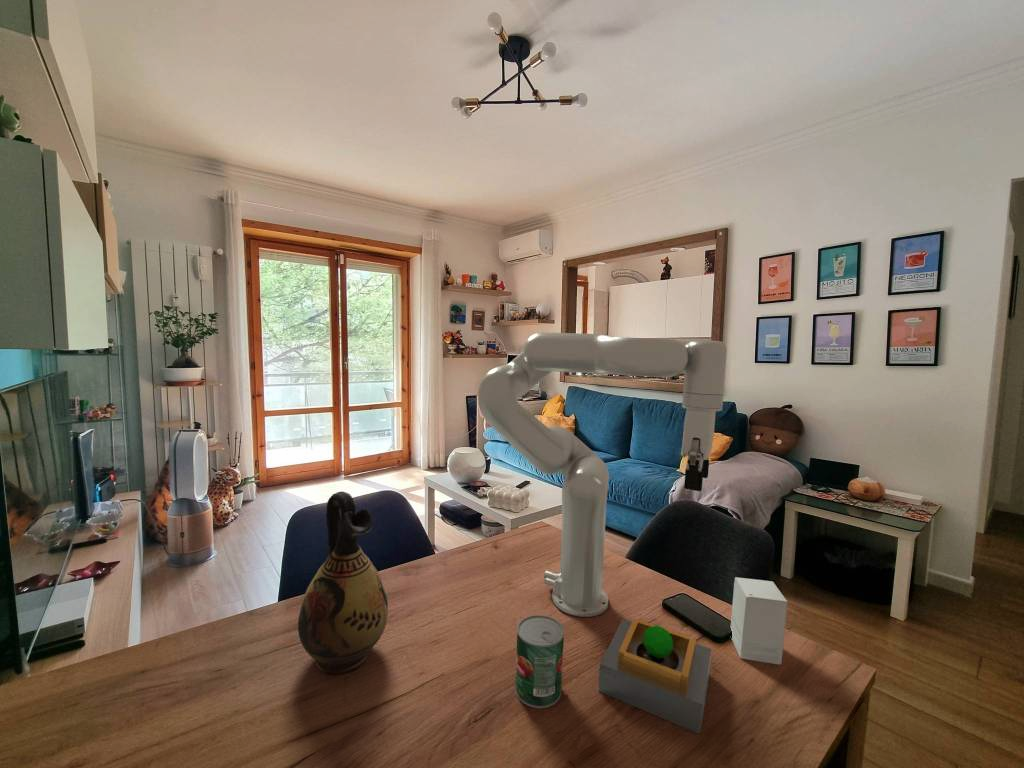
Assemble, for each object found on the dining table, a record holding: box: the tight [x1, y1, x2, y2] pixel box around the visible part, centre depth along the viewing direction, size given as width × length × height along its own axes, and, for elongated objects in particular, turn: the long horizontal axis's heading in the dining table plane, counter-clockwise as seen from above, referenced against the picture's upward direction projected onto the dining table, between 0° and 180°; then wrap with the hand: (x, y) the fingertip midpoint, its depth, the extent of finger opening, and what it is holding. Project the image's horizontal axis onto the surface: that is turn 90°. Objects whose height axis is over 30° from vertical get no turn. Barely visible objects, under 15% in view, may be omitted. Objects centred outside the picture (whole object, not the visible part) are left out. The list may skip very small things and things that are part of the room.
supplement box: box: [730, 576, 788, 665], centre depth 86 cm, size 7×7×13 cm
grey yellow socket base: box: [598, 618, 712, 735], centre depth 78 cm, size 16×17×7 cm
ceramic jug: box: [297, 491, 389, 676], centre depth 81 cm, size 17×15×30 cm
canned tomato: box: [514, 614, 565, 709], centre depth 75 cm, size 8×8×11 cm
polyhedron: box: [643, 624, 673, 659], centre depth 77 cm, size 5×5×5 cm
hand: (696, 483), depth 92 cm, fingers open, 9 cm apart
